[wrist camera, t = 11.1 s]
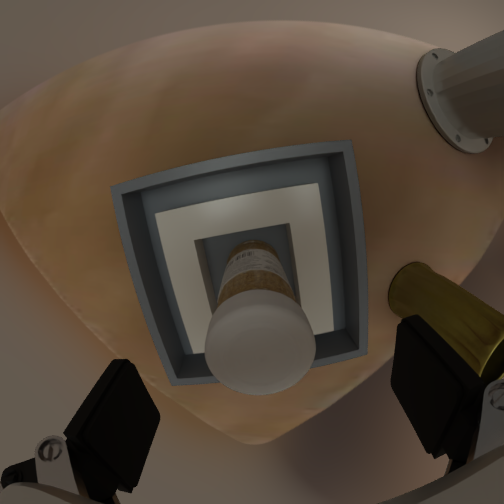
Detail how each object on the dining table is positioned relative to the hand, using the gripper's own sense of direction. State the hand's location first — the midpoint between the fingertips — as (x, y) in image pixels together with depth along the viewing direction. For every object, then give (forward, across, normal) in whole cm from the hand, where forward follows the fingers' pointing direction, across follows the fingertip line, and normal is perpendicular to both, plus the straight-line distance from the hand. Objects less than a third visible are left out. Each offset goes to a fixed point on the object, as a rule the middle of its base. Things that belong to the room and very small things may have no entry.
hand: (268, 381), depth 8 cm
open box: (+16, +1, +1) cm, 16 cm away
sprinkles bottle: (+15, +1, 0) cm, 15 cm away
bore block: (+16, +1, +1) cm, 16 cm away
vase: (+16, -15, +7) cm, 23 cm away
